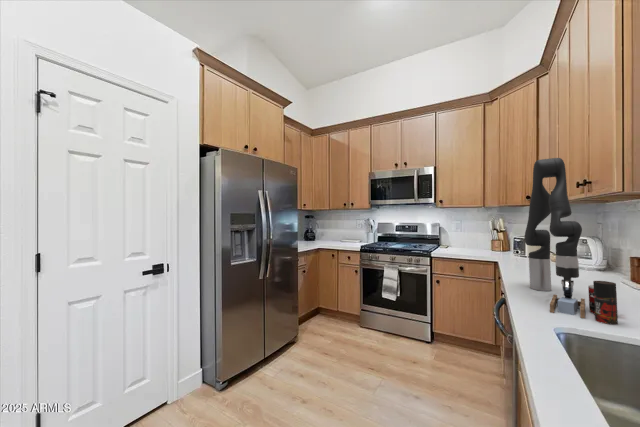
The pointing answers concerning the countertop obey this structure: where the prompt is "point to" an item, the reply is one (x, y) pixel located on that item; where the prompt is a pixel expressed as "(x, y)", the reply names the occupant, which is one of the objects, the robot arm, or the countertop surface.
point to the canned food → (592, 298)
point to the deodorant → (605, 302)
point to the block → (568, 305)
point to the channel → (581, 304)
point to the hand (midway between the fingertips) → (568, 304)
